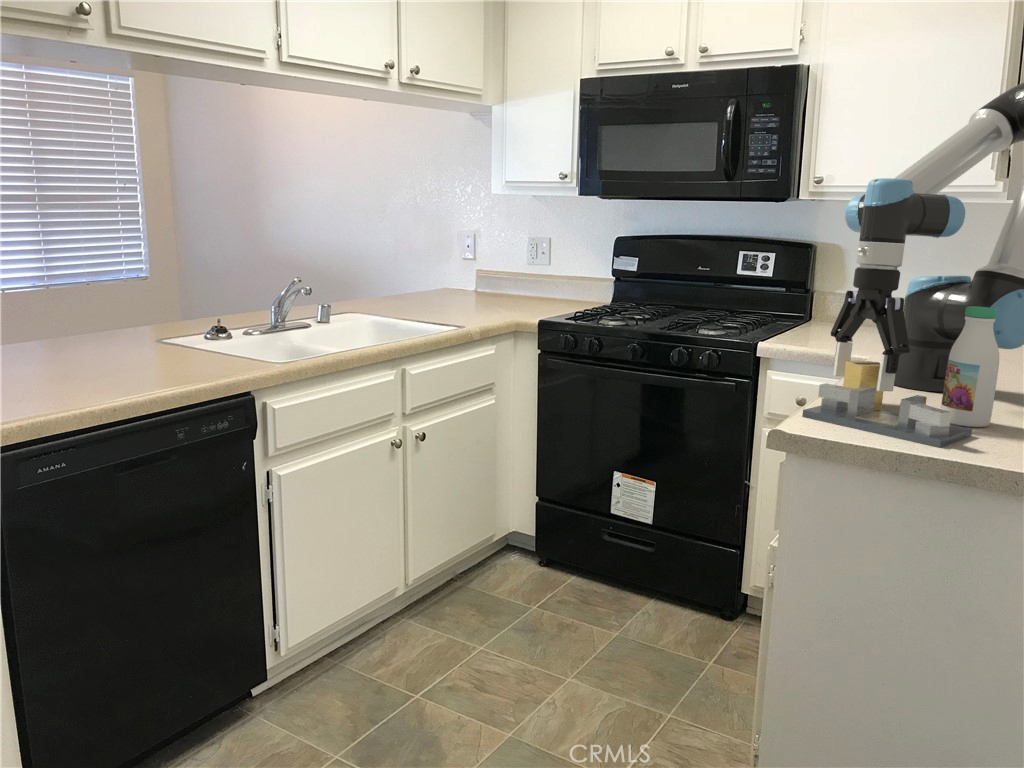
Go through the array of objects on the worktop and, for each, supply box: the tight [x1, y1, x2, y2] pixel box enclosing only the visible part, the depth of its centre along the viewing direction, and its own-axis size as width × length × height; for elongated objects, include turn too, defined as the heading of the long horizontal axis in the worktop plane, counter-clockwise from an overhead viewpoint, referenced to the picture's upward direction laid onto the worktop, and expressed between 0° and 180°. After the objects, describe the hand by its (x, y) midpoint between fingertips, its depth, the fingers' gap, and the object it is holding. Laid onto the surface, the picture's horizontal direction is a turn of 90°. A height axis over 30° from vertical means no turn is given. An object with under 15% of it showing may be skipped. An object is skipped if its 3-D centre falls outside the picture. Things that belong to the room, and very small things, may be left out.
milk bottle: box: [940, 306, 1000, 428], centre depth 140 cm, size 8×8×20 cm
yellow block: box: [842, 360, 885, 410], centre depth 152 cm, size 5×5×8 cm
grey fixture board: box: [802, 383, 973, 448], centre depth 137 cm, size 12×23×6 cm, turn 41°
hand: (861, 383), depth 152 cm, fingers open, 13 cm apart
